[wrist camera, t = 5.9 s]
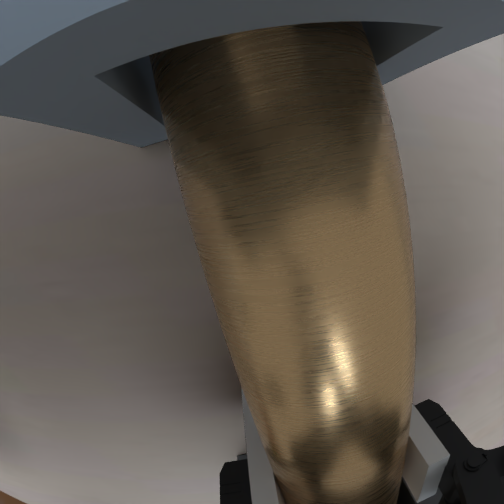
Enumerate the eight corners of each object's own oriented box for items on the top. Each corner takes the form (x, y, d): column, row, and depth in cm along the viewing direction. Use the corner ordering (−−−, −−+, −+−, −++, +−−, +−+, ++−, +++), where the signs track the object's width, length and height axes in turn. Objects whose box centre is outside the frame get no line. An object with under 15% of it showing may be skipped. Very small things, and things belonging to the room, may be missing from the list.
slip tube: (162, 57, 7) (115, -25, 3) (313, 28, 7) (371, -55, 3) (300, 521, 13) (314, 580, 9) (373, 499, 13) (396, 554, 9)
